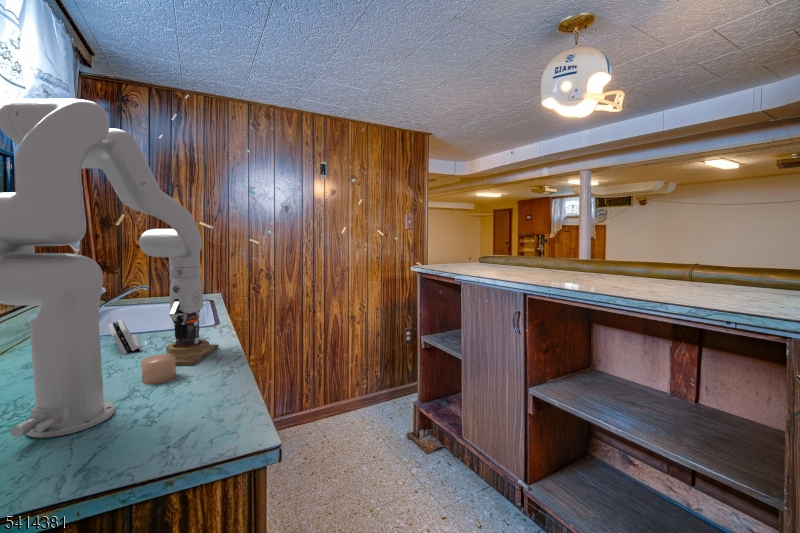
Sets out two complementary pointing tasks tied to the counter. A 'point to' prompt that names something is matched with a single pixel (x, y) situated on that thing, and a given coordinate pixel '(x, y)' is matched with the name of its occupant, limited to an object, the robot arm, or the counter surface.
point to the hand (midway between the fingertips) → (187, 334)
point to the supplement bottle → (190, 332)
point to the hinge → (124, 337)
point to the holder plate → (194, 359)
